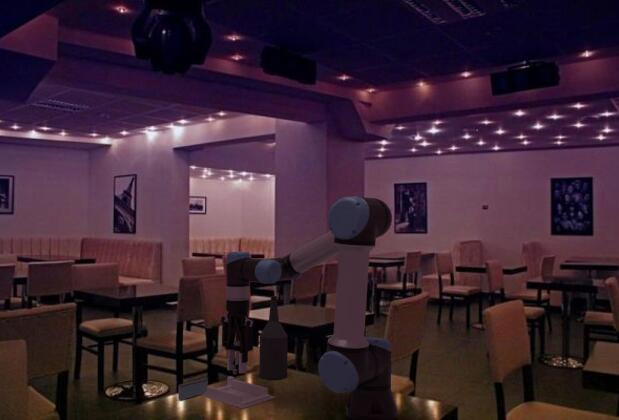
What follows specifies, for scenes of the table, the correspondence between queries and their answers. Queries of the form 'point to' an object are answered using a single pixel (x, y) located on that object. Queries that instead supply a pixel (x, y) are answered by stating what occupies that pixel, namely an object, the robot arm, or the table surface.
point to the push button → (236, 362)
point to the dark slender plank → (192, 388)
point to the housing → (238, 393)
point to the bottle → (273, 347)
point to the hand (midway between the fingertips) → (236, 370)
